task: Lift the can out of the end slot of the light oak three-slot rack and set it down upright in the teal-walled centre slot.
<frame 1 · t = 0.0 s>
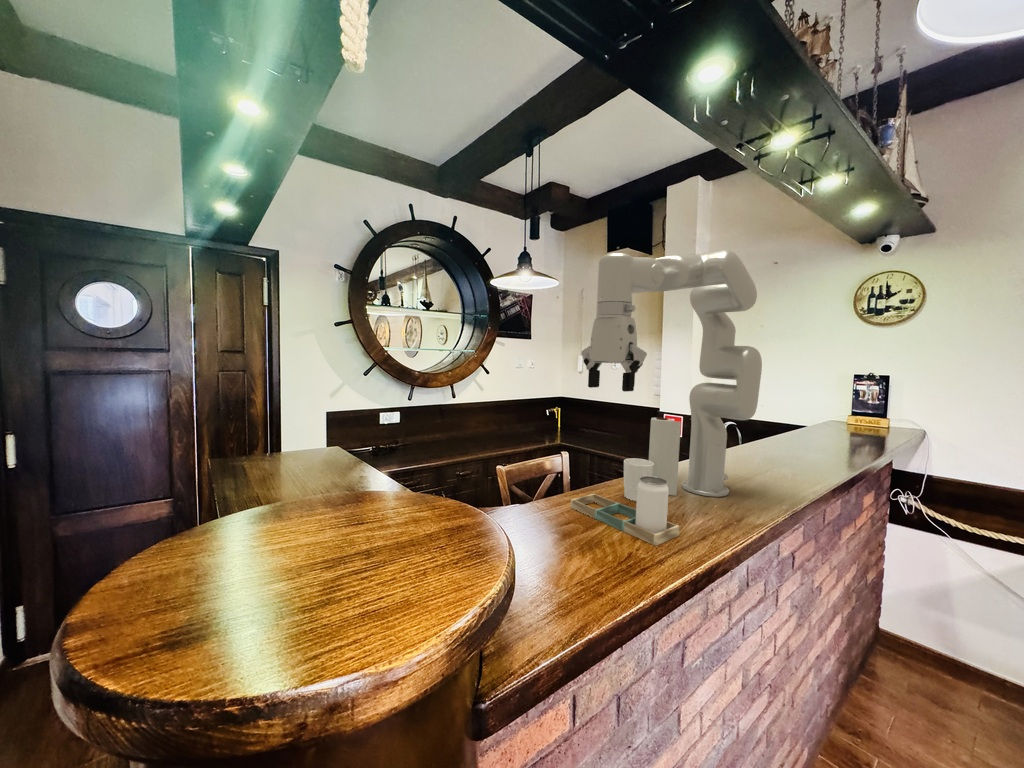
hand: (610, 389, 94), 31 cm above the countertop, tool pointing down, fingers open, 9 cm apart
slot rack: (620, 520, 98), on the countertop
white cup: (636, 498, 115), on the countertop
can: (650, 534, 92), on the countertop
paper towel roll: (659, 493, 119), on the countertop
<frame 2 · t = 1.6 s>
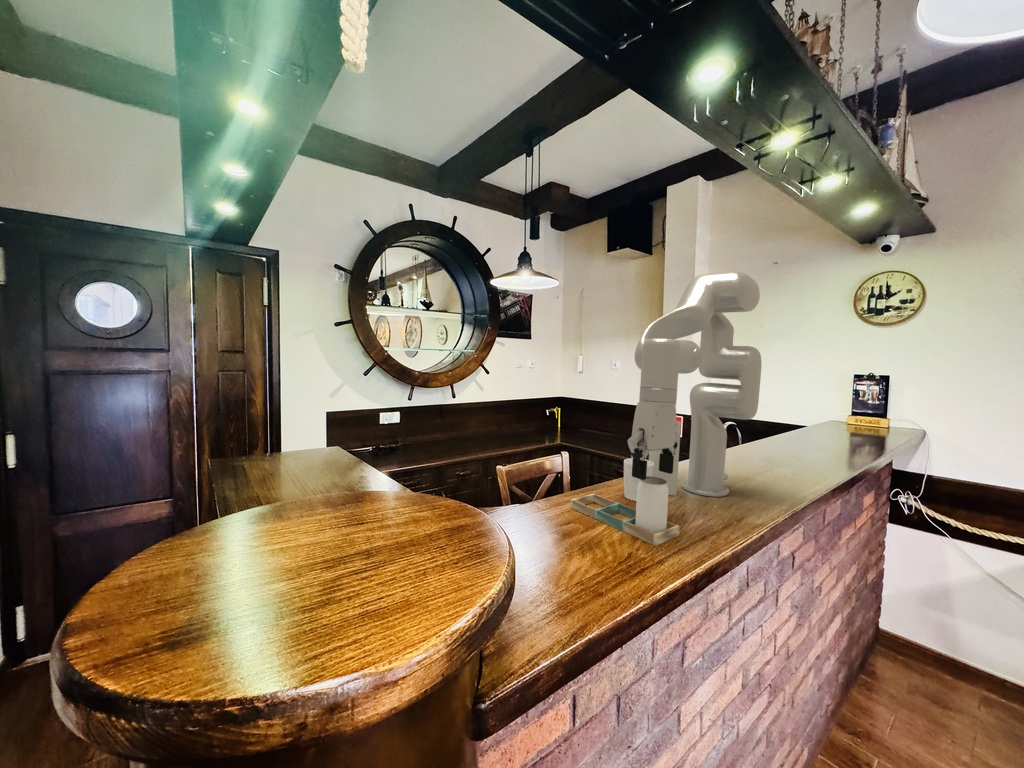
hand: (652, 475, 90), 13 cm above the countertop, tool pointing down, fingers open, 9 cm apart
nothing on the countertop moved.
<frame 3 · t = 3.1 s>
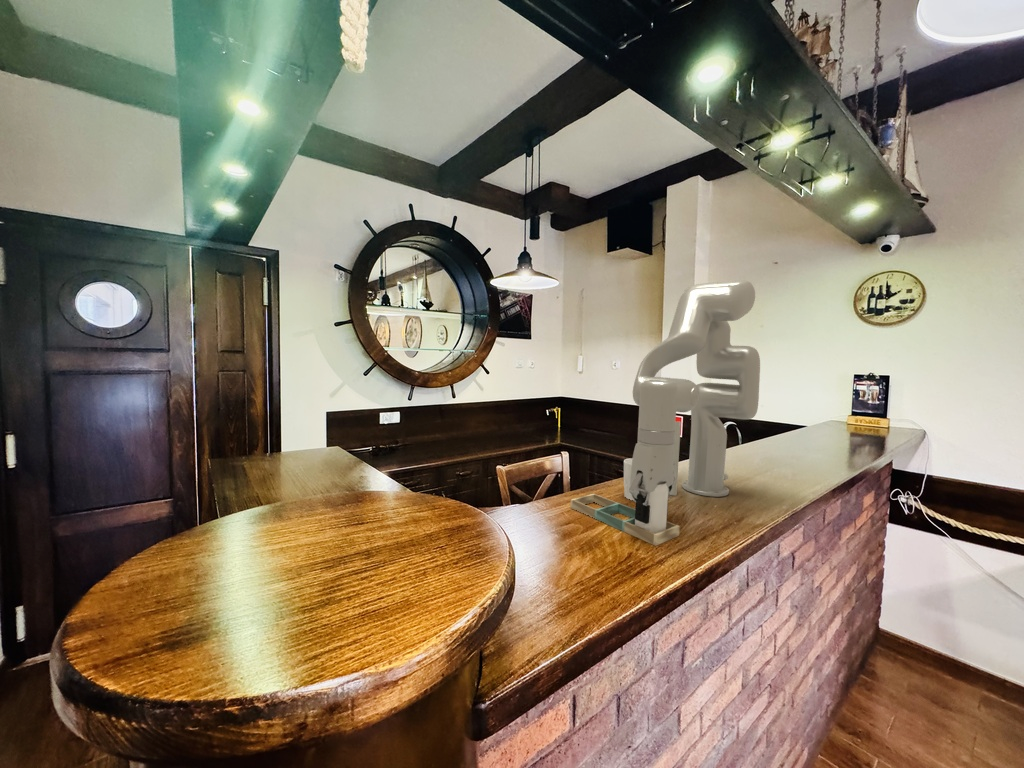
hand: (651, 517, 92), 4 cm above the countertop, tool pointing down, fingers closed on can, 6 cm apart
can: (649, 534, 92), on the countertop, touching gripper
everything else where it was.
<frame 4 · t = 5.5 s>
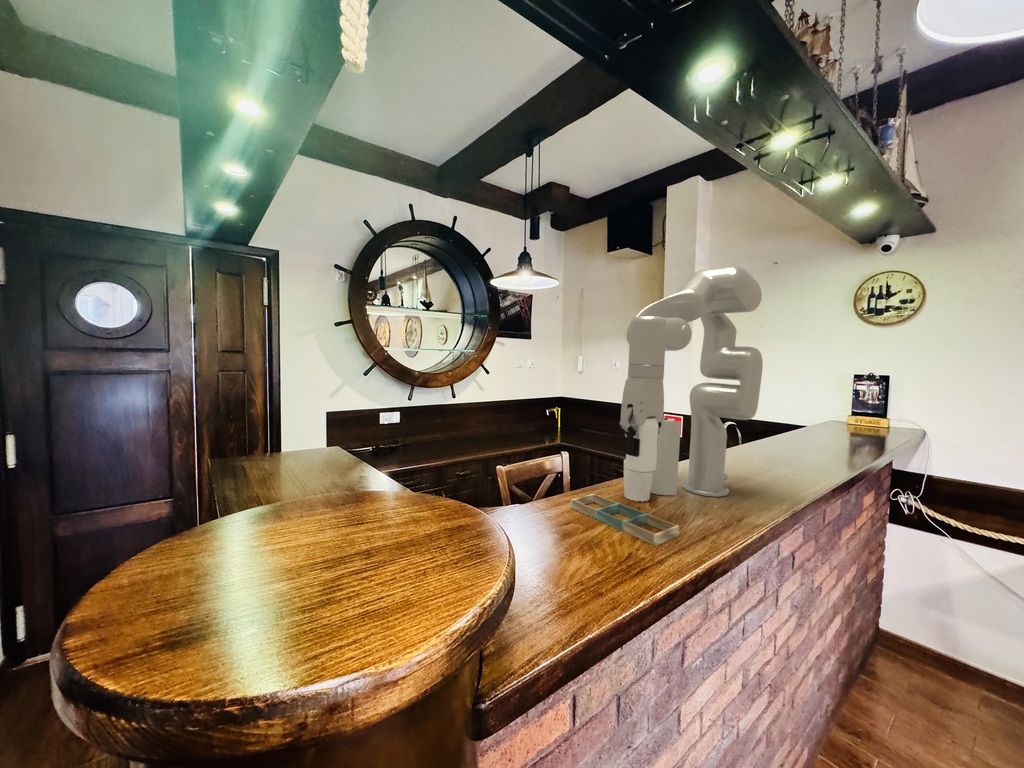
hand: (641, 452, 93), 17 cm above the countertop, tool pointing down, fingers closed on can, 5 cm apart
can: (640, 469, 93), point 13 cm above the countertop, touching gripper
everything else where it was.
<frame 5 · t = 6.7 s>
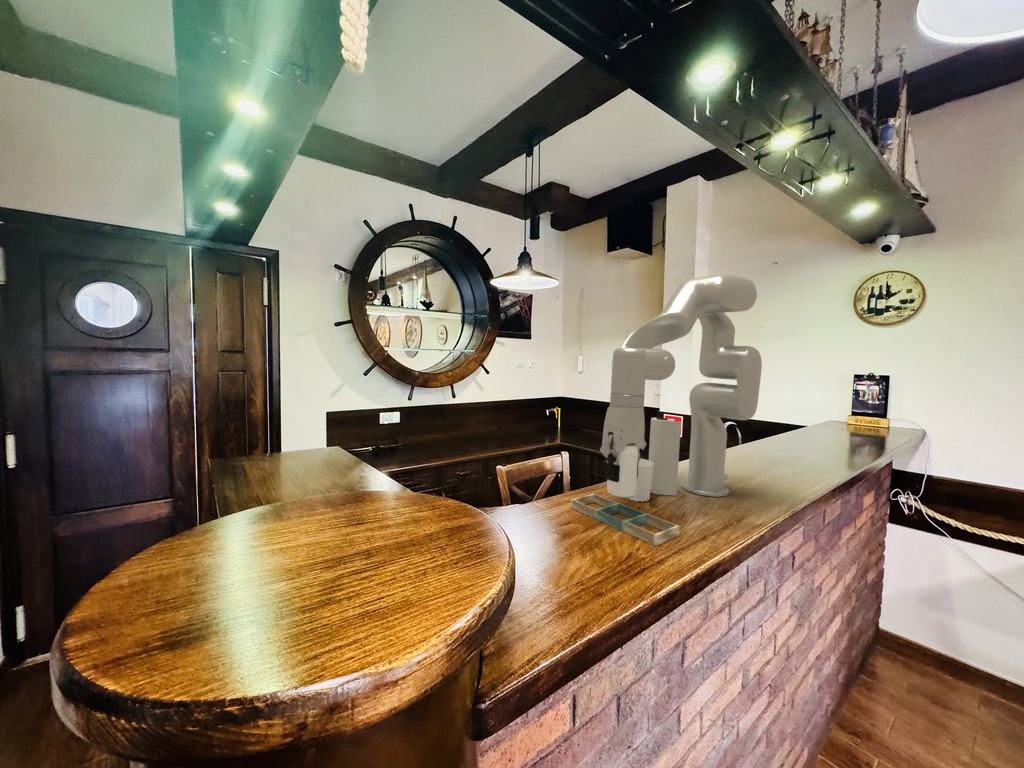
hand: (622, 477, 97), 10 cm above the countertop, tool pointing down, fingers closed on can, 5 cm apart
can: (620, 494, 97), point 7 cm above the countertop, touching gripper
everything else where it was.
when the fingers open (5 cm above the countertop, at t = 8.0 s): can moves 1 cm, on the countertop.
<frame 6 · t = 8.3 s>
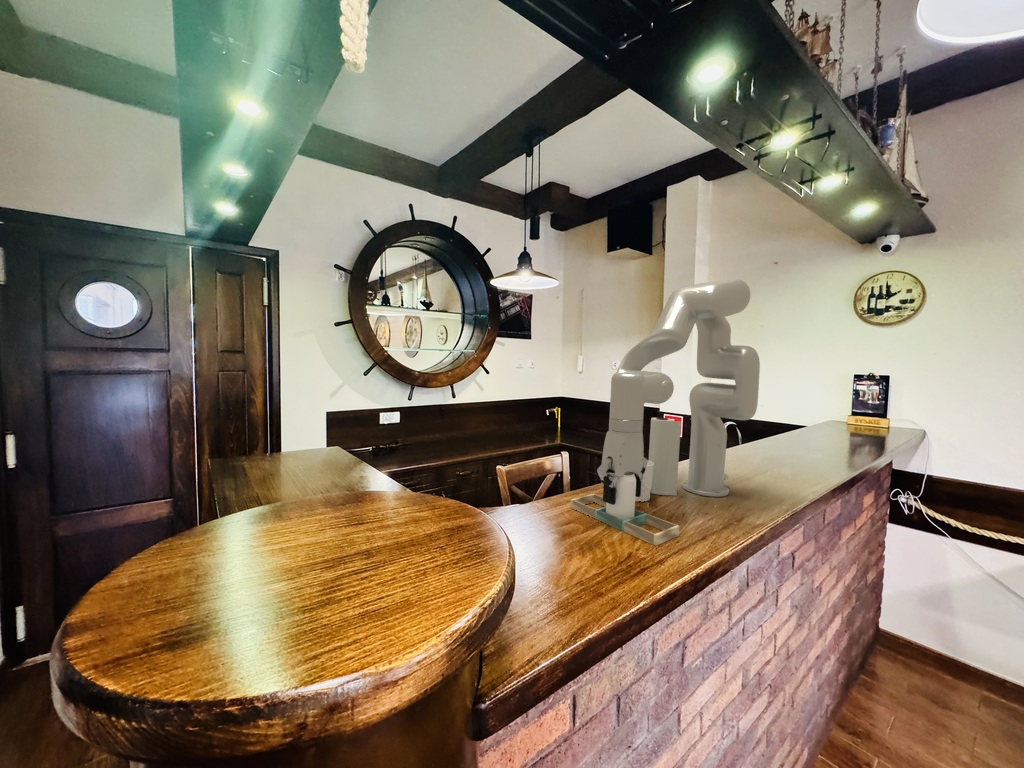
hand: (621, 498, 98), 5 cm above the countertop, tool pointing down, fingers open, 8 cm apart
can: (619, 522, 98), on the countertop
everything else where it was.
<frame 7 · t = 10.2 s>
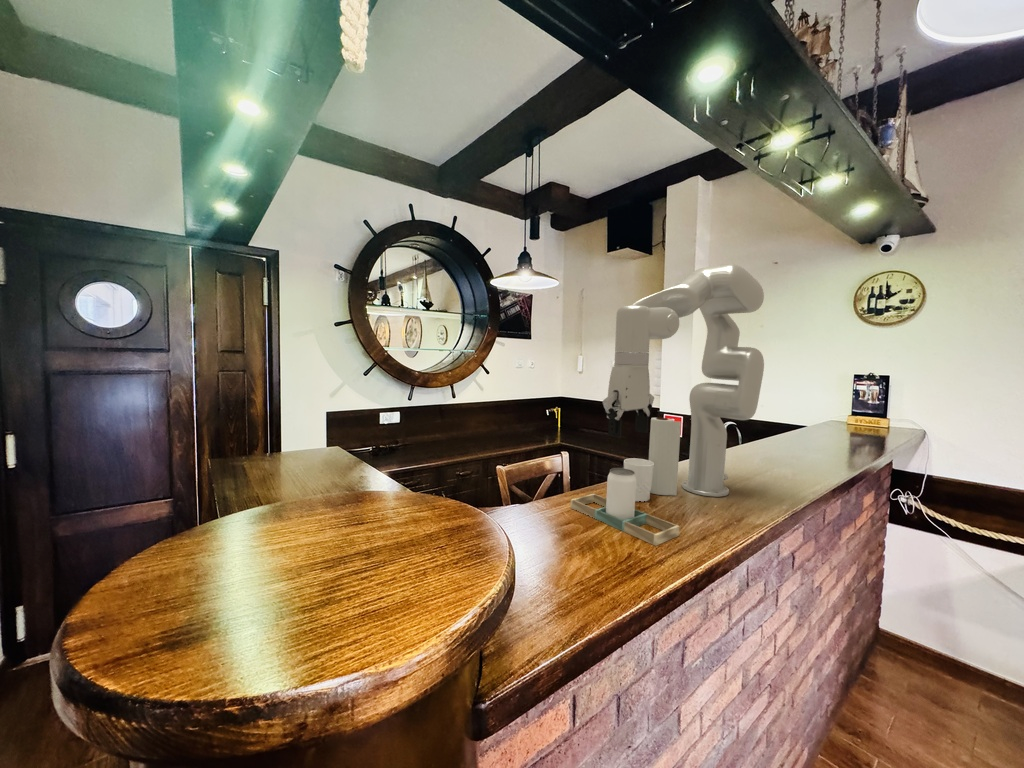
hand: (628, 434, 97), 21 cm above the countertop, tool pointing down, fingers open, 9 cm apart
nothing on the countertop moved.
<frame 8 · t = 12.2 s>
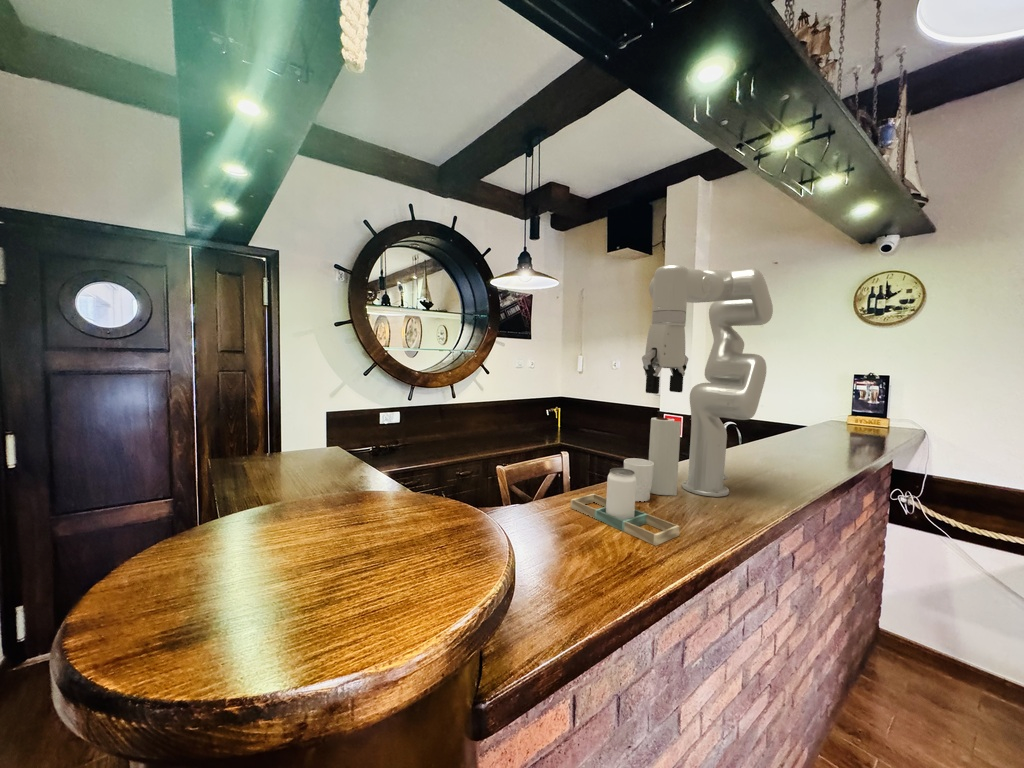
hand: (664, 392, 99), 30 cm above the countertop, tool pointing down, fingers open, 9 cm apart
nothing on the countertop moved.
at the end: can 0.4 cm off-centre on the slot rack, point 0.0 cm above the slot rack's base; can tilted 0°; the gripper is holding nothing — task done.
